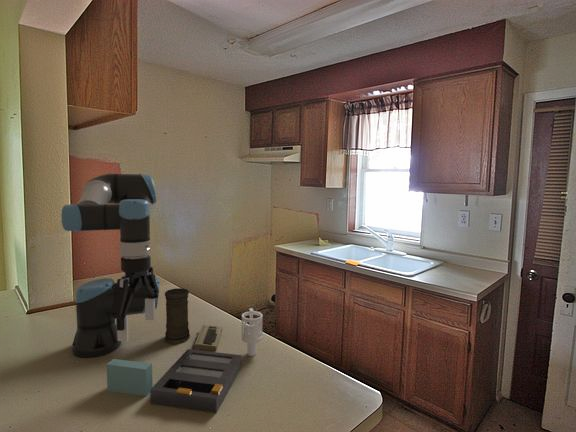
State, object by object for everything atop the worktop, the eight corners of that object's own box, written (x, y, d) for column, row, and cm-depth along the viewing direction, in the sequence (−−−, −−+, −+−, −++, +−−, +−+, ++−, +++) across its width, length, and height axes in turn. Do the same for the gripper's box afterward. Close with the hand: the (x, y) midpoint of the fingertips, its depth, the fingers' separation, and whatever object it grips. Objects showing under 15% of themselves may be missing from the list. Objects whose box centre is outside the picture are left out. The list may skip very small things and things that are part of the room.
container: (176, 346, 124) (175, 297, 122) (159, 339, 129) (158, 292, 127) (195, 336, 132) (194, 290, 130) (178, 330, 136) (178, 286, 134)
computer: (216, 352, 122) (216, 343, 121) (193, 352, 121) (193, 343, 121) (222, 332, 137) (222, 323, 137) (201, 332, 137) (201, 324, 136)
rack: (150, 403, 93) (150, 387, 93) (187, 360, 115) (187, 347, 114) (216, 413, 90) (216, 396, 90) (241, 367, 112) (242, 353, 111)
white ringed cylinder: (260, 347, 125) (261, 307, 123) (263, 357, 118) (264, 315, 116) (240, 349, 123) (241, 308, 121) (242, 359, 116) (242, 316, 114)
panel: (107, 391, 98) (106, 364, 97) (114, 384, 101) (113, 358, 100) (146, 396, 96) (146, 369, 95) (152, 390, 99) (152, 363, 98)
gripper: (120, 268, 83) (123, 352, 85) (169, 247, 108) (170, 313, 110) (92, 266, 84) (95, 349, 86) (147, 246, 109) (148, 311, 111)
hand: (137, 329), depth 98 cm, fingers open, 13 cm apart
